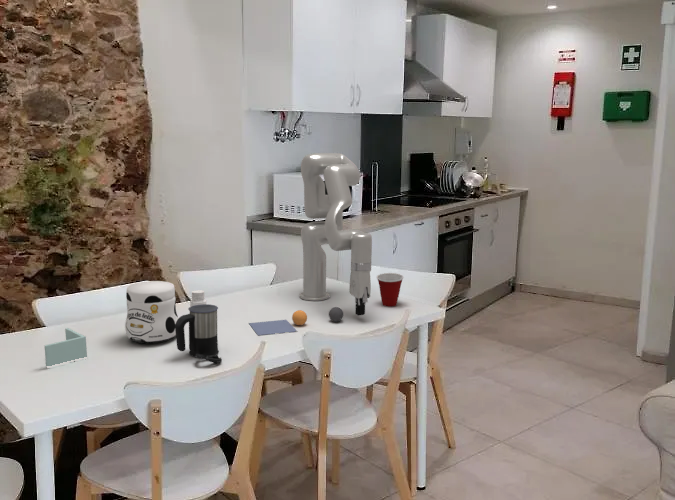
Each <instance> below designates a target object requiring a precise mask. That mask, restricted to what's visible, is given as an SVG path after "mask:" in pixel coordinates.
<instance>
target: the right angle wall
mask: <svg viewBox="0 0 675 500" xmlns="http://www.w3.org/2000/svg"><path fill="white" fill-rule="evenodd" d="M64 331H65V339H64V340H61V341H58V342H54V343H49V344H45V345H43V346H44V357H45V358H44V359H45V367H46V366H52V365H55V364H60V363H63V362H67V361H71V360H75V359H79V358H84V357H87V358H88V352H87V351H88V350H87V348H88V347H87V336H86V335H83V334H81V333H79V332H77V331H75V330H73V329H71V328H69V327H66V328H65V329H64Z"/></svg>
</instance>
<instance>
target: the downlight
mask: <svg viewBox="0 0 675 500" xmlns="http://www.w3.org/2000/svg"><path fill="white" fill-rule="evenodd" d="M205 294H206V293H205V290H201V289H200V290H198V289H197V290H192V291H191V299H190V300H189V305H190V307H191V306H194V305H201V304H207V300H206V299H205Z"/></svg>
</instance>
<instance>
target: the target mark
mask: <svg viewBox="0 0 675 500" xmlns="http://www.w3.org/2000/svg"><path fill="white" fill-rule="evenodd" d="M248 325H250V327H251V328H252V330H253V332H255V333H256V335H257V336H259V337H260V336H267V335H276V334H275V333H279V334H286V333H285V332H289V333H296V332H295V331H297V332H298V330H297V329H296V328H295V327H294V326H293V325H292V323H290V322H289V321H288V320H287V319H280V320H279V319H278V320H269V321H258V322H250V323H249V322H248Z"/></svg>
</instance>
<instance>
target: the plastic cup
mask: <svg viewBox="0 0 675 500" xmlns="http://www.w3.org/2000/svg"><path fill="white" fill-rule="evenodd" d="M404 278H405V277H404V275H403V274H400V273H396V272H384V273H380V274H378V275H376V279H377V282H378V285H379V286H378V287H379V293H380V298H381V300H380V301H381V304H382V306H384V307H388V308H389V307H396V306H397V304H398V299H399V295H400V292H401V285H402V282H403V279H404Z"/></svg>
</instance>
